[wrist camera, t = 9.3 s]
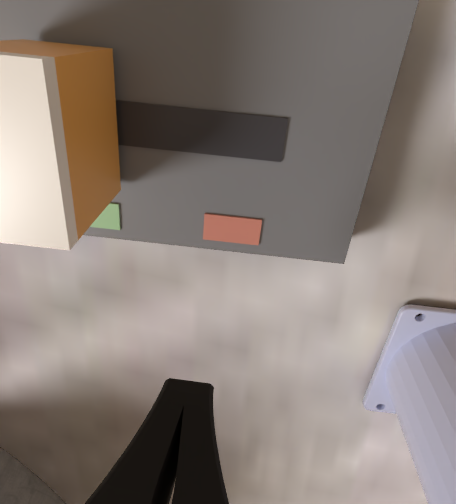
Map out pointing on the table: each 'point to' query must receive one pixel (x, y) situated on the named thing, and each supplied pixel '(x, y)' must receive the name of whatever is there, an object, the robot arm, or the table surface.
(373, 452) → the table surface
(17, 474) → the hip flask
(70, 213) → the knob
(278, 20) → the panel
